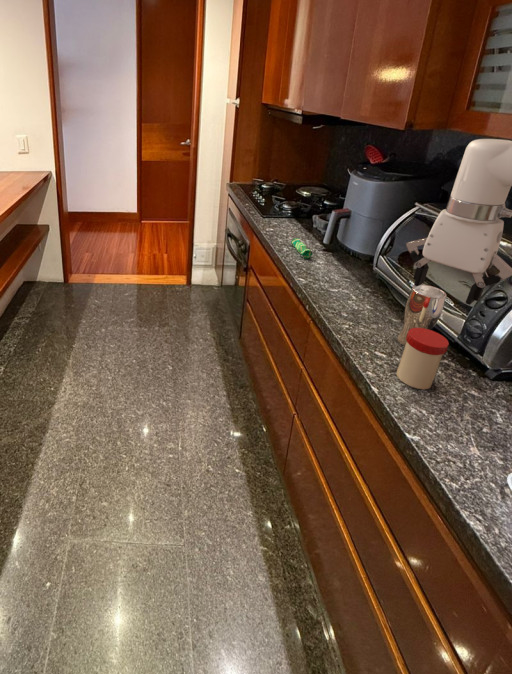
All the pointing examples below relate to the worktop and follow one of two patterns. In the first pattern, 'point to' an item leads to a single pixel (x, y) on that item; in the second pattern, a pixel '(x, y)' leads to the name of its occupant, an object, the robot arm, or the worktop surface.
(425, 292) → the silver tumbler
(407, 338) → the red lid
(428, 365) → the jar
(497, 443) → the worktop surface
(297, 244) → the candy
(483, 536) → the worktop surface
